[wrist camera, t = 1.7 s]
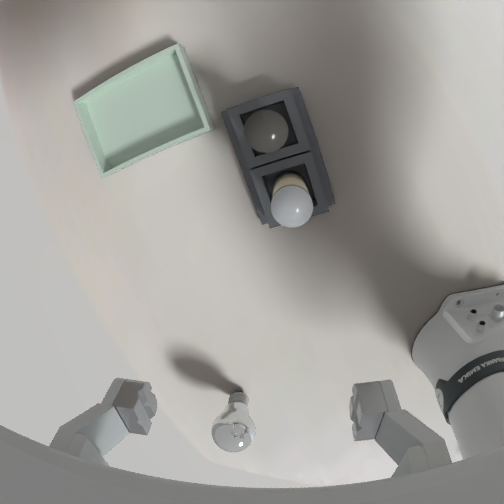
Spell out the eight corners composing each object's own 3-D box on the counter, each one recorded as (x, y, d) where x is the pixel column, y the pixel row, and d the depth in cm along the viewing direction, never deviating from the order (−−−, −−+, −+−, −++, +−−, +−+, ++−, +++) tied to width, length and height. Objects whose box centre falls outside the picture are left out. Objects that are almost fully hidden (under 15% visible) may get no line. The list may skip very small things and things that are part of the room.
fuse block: (297, 87, 32) (299, 84, 29) (333, 201, 37) (338, 209, 34) (222, 112, 34) (216, 112, 31) (262, 221, 39) (260, 232, 36)
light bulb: (212, 393, 53) (199, 447, 42) (234, 374, 50) (224, 432, 39) (244, 410, 54) (236, 463, 43) (268, 392, 51) (263, 449, 40)
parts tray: (184, 47, 31) (177, 43, 29) (214, 128, 35) (210, 129, 33) (84, 101, 34) (73, 101, 32) (111, 174, 38) (101, 178, 36)
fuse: (300, 166, 35) (306, 181, 27) (309, 196, 36) (317, 220, 28) (269, 175, 36) (265, 194, 28) (279, 205, 37) (278, 232, 29)
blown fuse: (280, 107, 32) (280, 103, 24) (291, 138, 34) (294, 145, 26) (248, 117, 33) (237, 117, 25) (259, 148, 35) (252, 158, 26)
